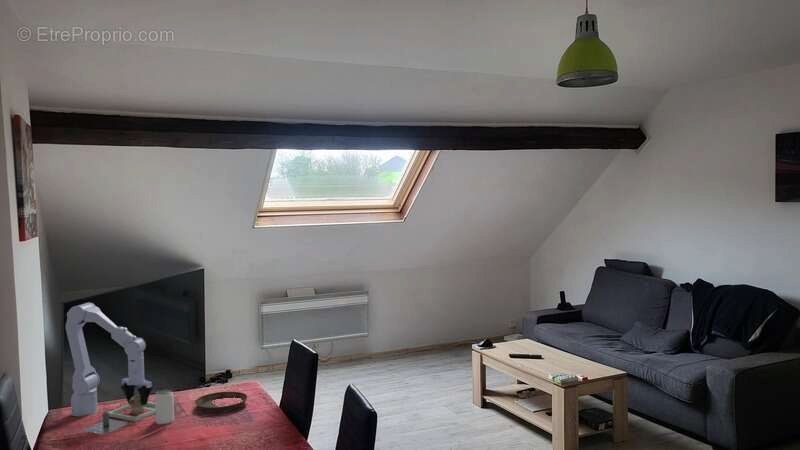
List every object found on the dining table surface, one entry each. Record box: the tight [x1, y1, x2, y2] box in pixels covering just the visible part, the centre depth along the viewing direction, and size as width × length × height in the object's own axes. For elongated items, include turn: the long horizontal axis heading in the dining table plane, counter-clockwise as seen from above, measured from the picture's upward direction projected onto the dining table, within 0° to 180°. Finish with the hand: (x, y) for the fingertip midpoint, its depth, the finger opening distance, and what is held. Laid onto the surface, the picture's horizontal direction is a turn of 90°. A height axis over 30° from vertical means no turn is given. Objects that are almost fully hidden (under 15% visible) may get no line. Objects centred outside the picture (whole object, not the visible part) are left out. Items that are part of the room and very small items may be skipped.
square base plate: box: [80, 411, 132, 436], centre depth 221 cm, size 12×12×6 cm
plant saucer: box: [194, 391, 248, 413], centre depth 244 cm, size 21×21×3 cm
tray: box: [107, 400, 156, 422], centre depth 237 cm, size 16×16×2 cm
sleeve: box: [128, 394, 145, 415], centre depth 236 cm, size 4×6×6 cm
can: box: [154, 388, 175, 426], centre depth 226 cm, size 6×6×12 cm
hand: (137, 403), depth 237 cm, fingers open, 7 cm apart
